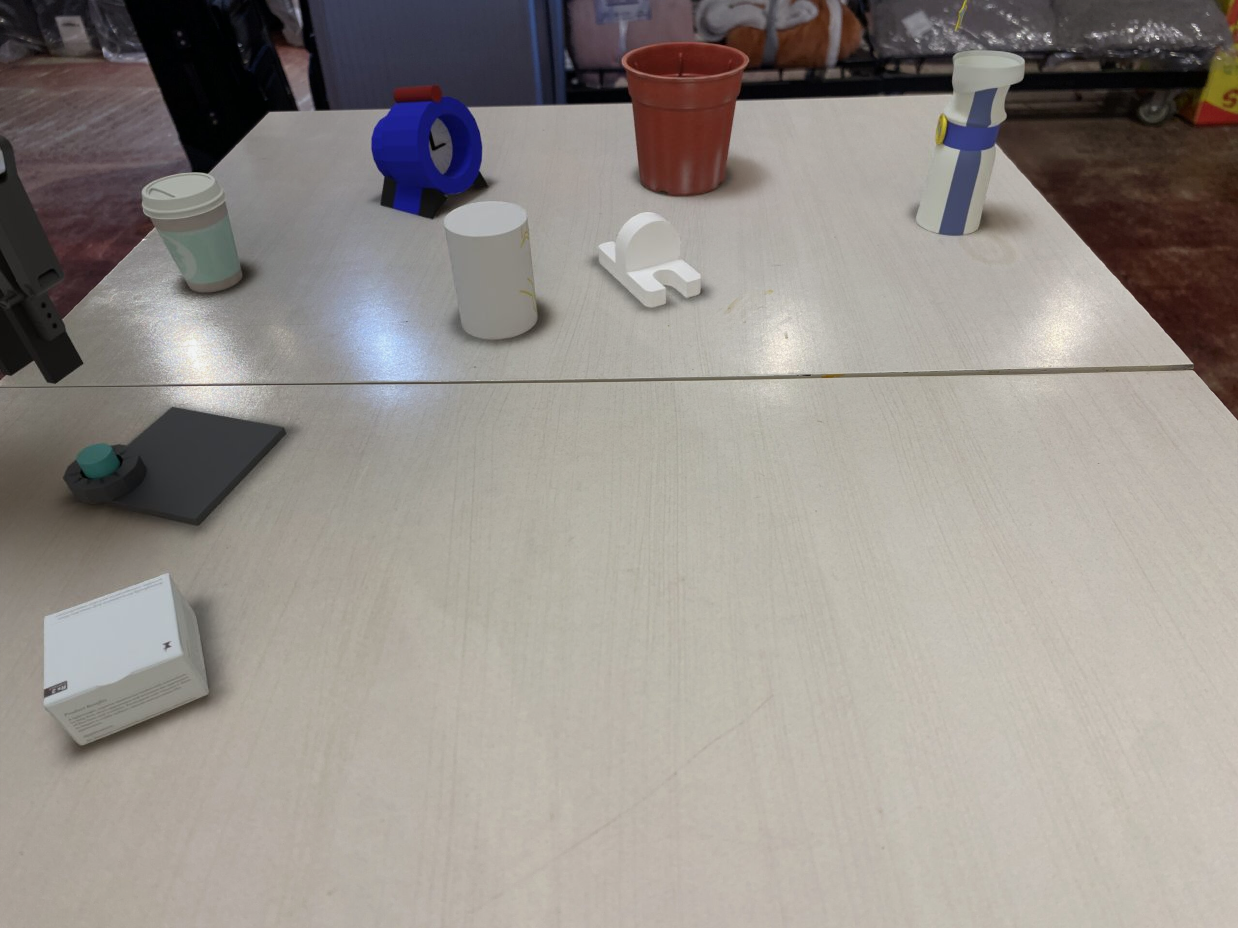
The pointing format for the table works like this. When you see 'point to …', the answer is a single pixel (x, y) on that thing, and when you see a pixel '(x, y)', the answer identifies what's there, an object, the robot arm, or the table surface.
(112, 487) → the scale
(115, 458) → the button
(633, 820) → the table surface
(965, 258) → the table surface
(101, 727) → the small box
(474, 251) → the cup
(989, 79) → the water bottle
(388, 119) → the alarm clock
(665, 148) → the flower pot
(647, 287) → the slotted bracket
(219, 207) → the coffee cup
